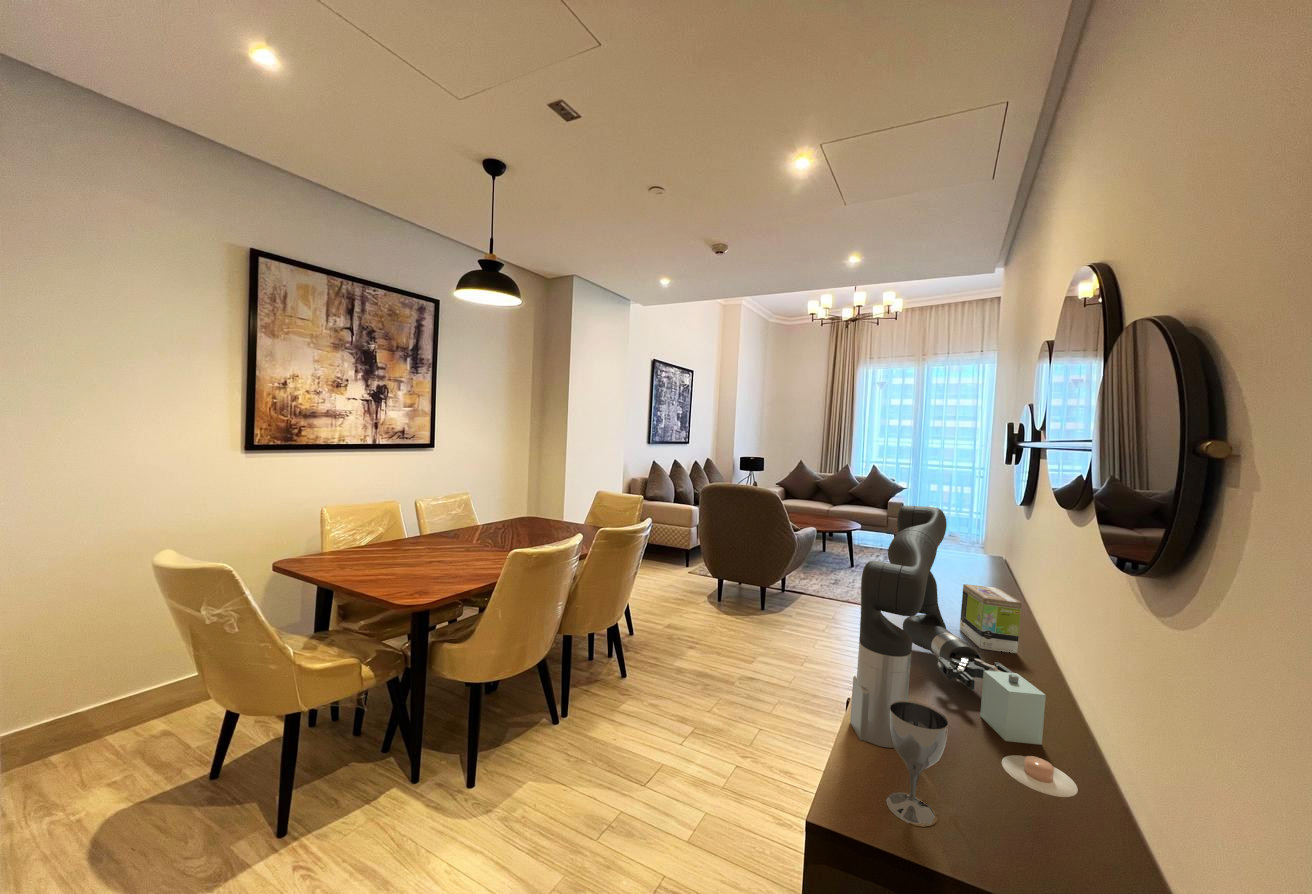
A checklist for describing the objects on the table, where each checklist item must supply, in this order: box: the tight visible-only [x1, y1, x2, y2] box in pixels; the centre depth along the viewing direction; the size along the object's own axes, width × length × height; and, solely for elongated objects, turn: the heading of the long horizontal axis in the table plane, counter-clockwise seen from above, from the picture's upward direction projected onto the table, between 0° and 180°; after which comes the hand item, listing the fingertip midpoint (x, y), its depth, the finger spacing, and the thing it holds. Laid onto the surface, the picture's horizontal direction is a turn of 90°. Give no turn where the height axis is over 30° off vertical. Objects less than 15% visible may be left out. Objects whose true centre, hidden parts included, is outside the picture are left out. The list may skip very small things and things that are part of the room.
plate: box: [1001, 754, 1079, 798], centre depth 86 cm, size 10×10×1 cm
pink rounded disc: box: [1024, 755, 1055, 783], centre depth 86 cm, size 4×4×2 cm
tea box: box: [959, 583, 1022, 654], centre depth 148 cm, size 15×10×15 cm, turn 168°
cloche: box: [979, 670, 1047, 746], centre depth 100 cm, size 7×9×11 cm
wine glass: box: [885, 700, 949, 825], centre depth 77 cm, size 8×8×15 cm
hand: (994, 687), depth 106 cm, fingers open, 8 cm apart
